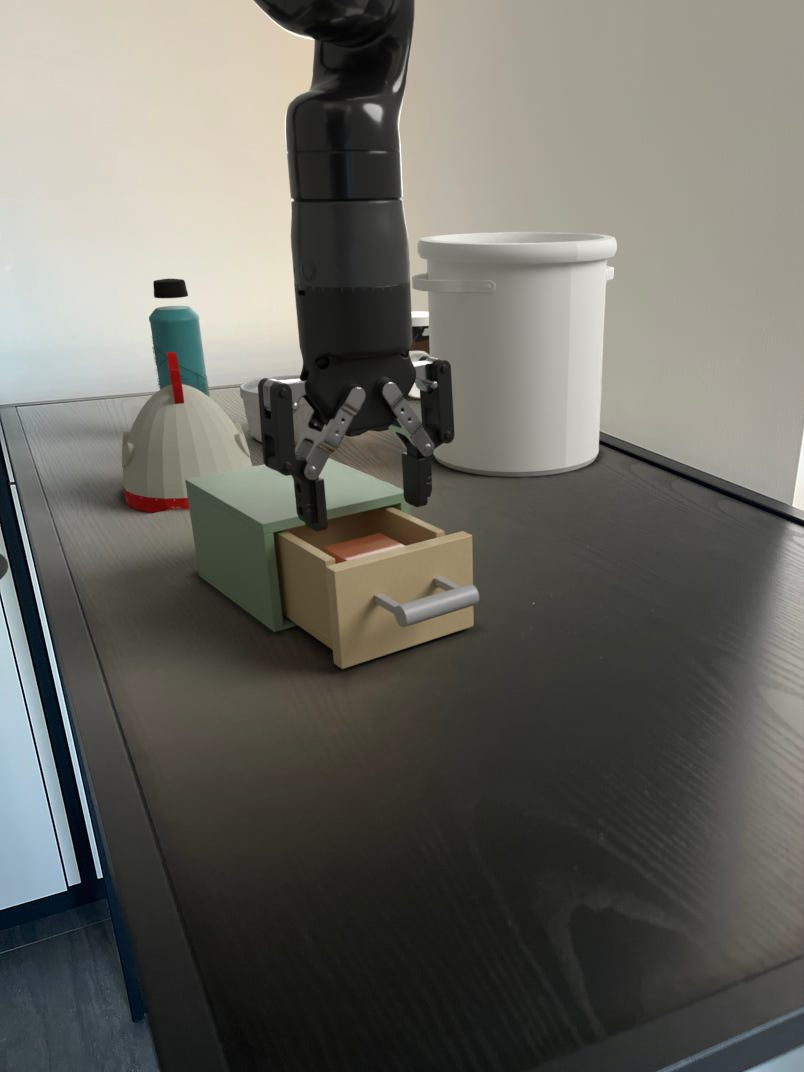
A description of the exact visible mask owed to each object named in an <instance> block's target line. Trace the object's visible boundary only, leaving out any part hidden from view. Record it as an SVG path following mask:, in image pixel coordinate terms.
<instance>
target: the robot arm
mask: <svg viewBox="0 0 804 1072" xmlns="http://www.w3.org/2000/svg"><path fill="white" fill-rule="evenodd" d="M252 1H253V3H255V5H256V6H257V7H258V8H259V9H260V10H261V11H262V12H263V13H264V15H266V16H267V17H268V18H269V19H270V20H271V21H272V22H273V23H275V24H276V25H277V26H278V27H280V28H281V29H283V30H284V31H286V32H287V33H290V34H291V35H294V36H296V37H300V38H303V39H307V40H312V41H314V45H313V46H314V48H313V60H312V73H311V83H310V84H311V85H310V87H309V89H308V91H305V92H302V93H300V94H299V95H297V96H296V97H294V98H293V99H292V100H291V101H290V103H288V106H287V109H286V113H285V118H284V131H285V132H284V136H285V150H286V152H287V153H286V159H287V170H288V171H287V172H288V182H289V183H288V184H289V193H290V194H289V195H290V199H291V202H290V229H289V230H290V231H289V233H290V234H289V235H290V237H289V240H290V254H291V255H290V256H291V266H292V275H293V286H294V287H293V288H294V298H295V311H296V321H297V332H298V333H297V334H298V345H299V349H300V353H301V357H302V368H301V372H300V374H299V375H300V377H299V379H291V380H280V381H278V380H275V379H270V378H264V377H262V378H263V379H262V380H260V382H259V384H258V396H259V410H260V424H261V438H262V442H261V451H262V452H261V453H262V462H263V465H264V464H265V466H266V467H268V468H270V469H273V470H275V471H278V472H279V473H281V474H283V475H285V476H289V475H292V477H293V480H294V489H295V499H296V510H297V515H298V517H299V519H300V520H302V521H303V522H305V524H306V525H307V526H308V527H309V528H311V529H313V530H315V531H322V530H326V529H327V528H328V521H327V509H326V497H325V485H324V479H323V478H320V477H319V475H320V473H321V472H322V470H323V468H324V466H325V464H326V462H327V460H328V458H330V456H331V454H332V453H334V452H336V451H337V450H338V449H339V447H340V445H341V443H342V441H343V439H344V437H349V438H353V437H357V436H361V435H363V434H366V433H367V432H377V433H378V432H379V433H380V432H385V431H390V432H392V434H393V435H394V437H395V438H396V439H397V440H398V442H399V443H400V444H401V445H402V447H403V448H404V450H406V451H405V452H401V469H402V489H403V492H404V499H405V501H406V502H407V503H408V504H409V506H410V505H411V506H413V507H415V508H421V507H425V506H427V504H428V501H429V499H428V498H431V495H432V491H433V476H432V475H433V471H432V470H433V469H432V455H434V454H433V452H434V450H435V449H436V448H437V447H438V446H440V445H441V444H443V443H446V444H448V443H451V442H452V441H453V439H454V436H455V432H454V414H453V396H452V378H451V365H450V363H449V362H448V361H446V360H442V359H438V358H434V357H429V356H422V357H421V358H420V359H419V361H418V362H413V363H412V361H411V358H410V355H409V349H410V347H411V345H412V341H413V340H412V314H411V312H412V293H411V290H412V289H411V269H410V268H411V267H410V266H411V263H410V244H409V233H408V232H409V231H408V226H407V221H406V215H405V208H404V200H403V198H404V191H403V167H402V166H403V164H402V152H401V151H402V145H401V134H400V119H401V112H402V108H403V103H404V97H405V94H406V89H407V82H408V81H407V80H408V73H409V66H410V60H411V59H410V58H411V51H412V45H413V36H414V28H415V27H414V25H415V13H416V12H415V10H416V8H415V7H416V6H415V5H416V2H415V1H416V0H252ZM414 383H415V384H416V387H417V388H418V389H419V390H420V399H419V400H420V401H419V402H420V414H421V416H420V417H421V419H420V418H419V417H418V415H417V414H416V412H415V411H414V410H413V408H412V407H411V405H410V404H409V403H408V401H407V398H408V397H409V396H408V395H409V393H410V391H411V389H412V387H413V385H414ZM301 397H303V398H304V399H305V400H306V401H307V403H308V404H309V405H310V406H311V410H310V412H309V414H308V416H307V418H306V420H305V422H304V424H303V425H302V427H301V429H300V433H299V435H300V439H299V441H298V443H297V445H295V440H294V422H293V414H294V413H295V412H296V411H297V410H298V408H299V406H298V404H299V400H300V399H301ZM324 425H326V426H327V427H326V428H325V430H324V431H322V429H323V427H324Z"/></svg>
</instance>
